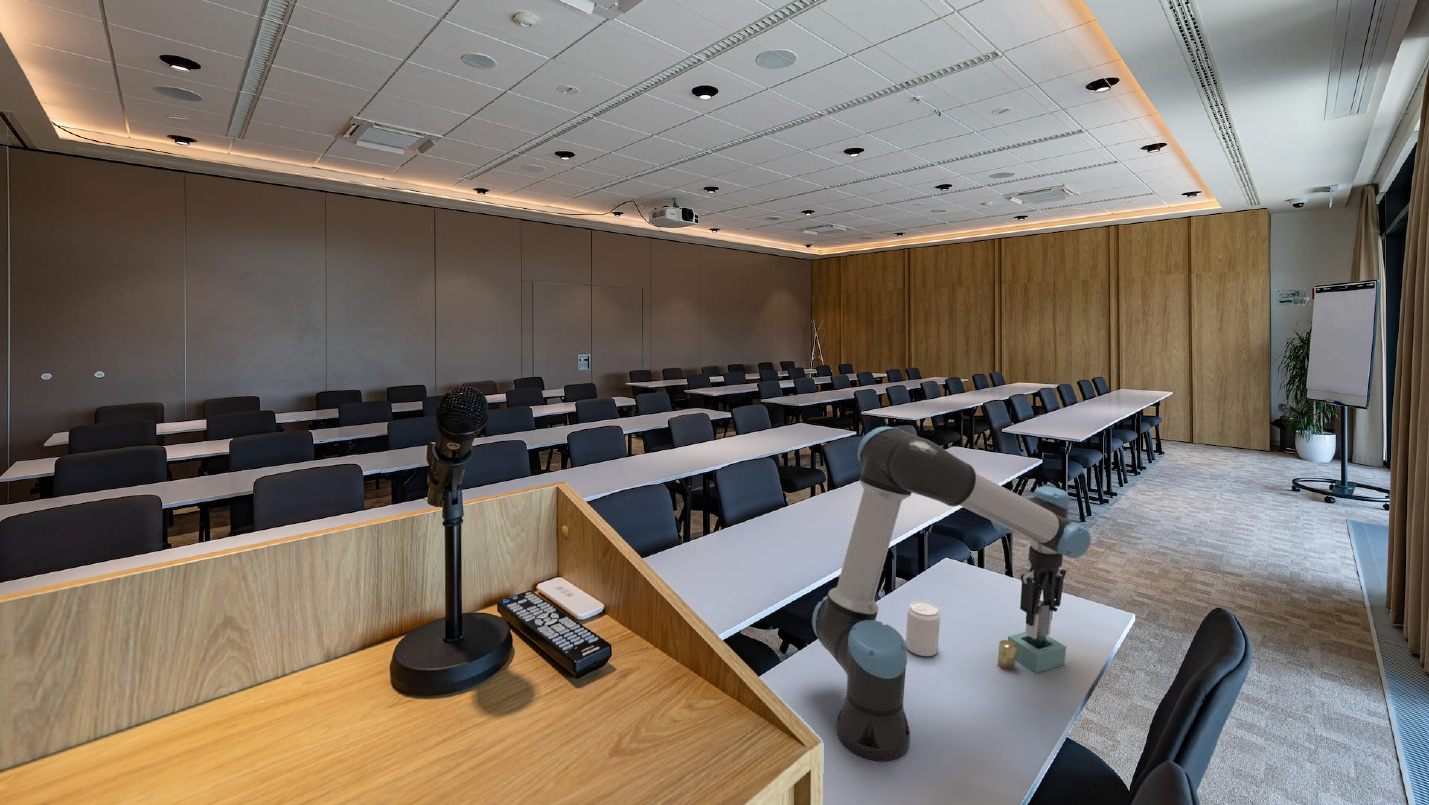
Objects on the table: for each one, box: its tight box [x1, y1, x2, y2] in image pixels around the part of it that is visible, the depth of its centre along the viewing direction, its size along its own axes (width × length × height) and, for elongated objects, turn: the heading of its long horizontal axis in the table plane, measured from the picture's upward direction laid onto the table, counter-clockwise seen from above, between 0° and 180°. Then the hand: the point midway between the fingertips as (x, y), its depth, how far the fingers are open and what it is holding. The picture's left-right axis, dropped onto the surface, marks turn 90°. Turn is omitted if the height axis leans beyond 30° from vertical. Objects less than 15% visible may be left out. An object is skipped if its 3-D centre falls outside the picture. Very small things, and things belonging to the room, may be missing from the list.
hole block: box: [1007, 631, 1067, 674], centre depth 157 cm, size 10×9×5 cm
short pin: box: [997, 639, 1017, 672], centre depth 154 cm, size 4×4×6 cm
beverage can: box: [905, 600, 941, 657], centre depth 161 cm, size 8×8×12 cm
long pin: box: [1028, 599, 1049, 649], centre depth 156 cm, size 4×4×14 cm
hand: (1037, 634), depth 157 cm, fingers closed on long pin, 4 cm apart
